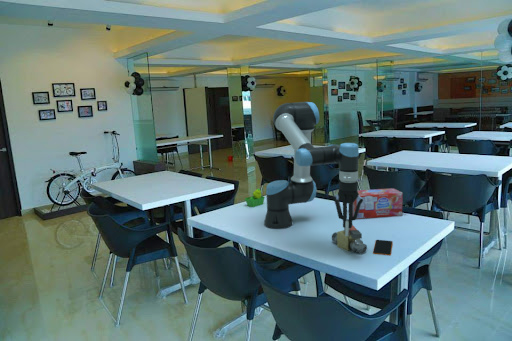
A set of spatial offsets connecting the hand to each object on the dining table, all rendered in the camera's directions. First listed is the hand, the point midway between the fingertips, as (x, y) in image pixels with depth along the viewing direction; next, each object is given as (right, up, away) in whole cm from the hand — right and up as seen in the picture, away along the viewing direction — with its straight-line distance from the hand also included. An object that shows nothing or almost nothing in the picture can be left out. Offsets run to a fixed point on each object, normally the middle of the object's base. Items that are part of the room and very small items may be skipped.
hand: (347, 234), depth 168 cm
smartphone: (+18, -7, +8) cm, 21 cm away
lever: (+3, -1, +3) cm, 4 cm away
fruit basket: (-39, +5, +85) cm, 94 cm away
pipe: (+3, -7, +10) cm, 12 cm away
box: (+28, +2, +55) cm, 62 cm away
